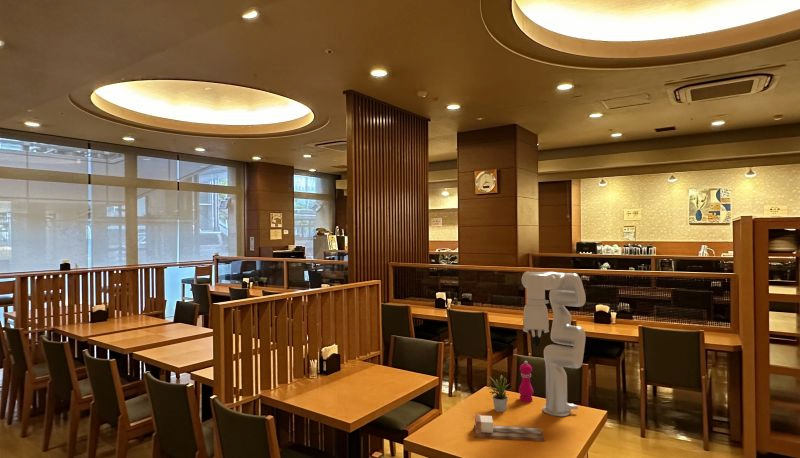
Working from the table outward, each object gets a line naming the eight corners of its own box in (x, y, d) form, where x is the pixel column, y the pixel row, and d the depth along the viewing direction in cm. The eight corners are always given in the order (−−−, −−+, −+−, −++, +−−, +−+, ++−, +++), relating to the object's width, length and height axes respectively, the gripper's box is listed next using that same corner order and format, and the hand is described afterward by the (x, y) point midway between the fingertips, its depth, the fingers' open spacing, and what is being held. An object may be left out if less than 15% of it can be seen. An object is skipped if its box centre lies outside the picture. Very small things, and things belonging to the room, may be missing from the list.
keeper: (491, 426, 196) (491, 416, 196) (493, 433, 189) (493, 422, 189) (479, 425, 196) (479, 415, 196) (480, 432, 189) (480, 422, 189)
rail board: (539, 430, 195) (539, 416, 195) (544, 441, 185) (544, 425, 185) (474, 427, 198) (473, 413, 198) (475, 437, 188) (475, 422, 188)
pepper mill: (534, 403, 227) (533, 363, 228) (519, 402, 229) (519, 362, 229) (532, 398, 234) (532, 359, 235) (518, 397, 236) (518, 358, 236)
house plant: (484, 402, 228) (484, 370, 228) (512, 404, 225) (512, 371, 225) (484, 413, 214) (484, 378, 214) (514, 415, 211) (514, 380, 211)
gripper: (552, 301, 196) (552, 344, 196) (516, 301, 198) (516, 343, 197) (555, 304, 188) (556, 348, 188) (519, 303, 190) (519, 347, 190)
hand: (535, 345), depth 193 cm, fingers closed
